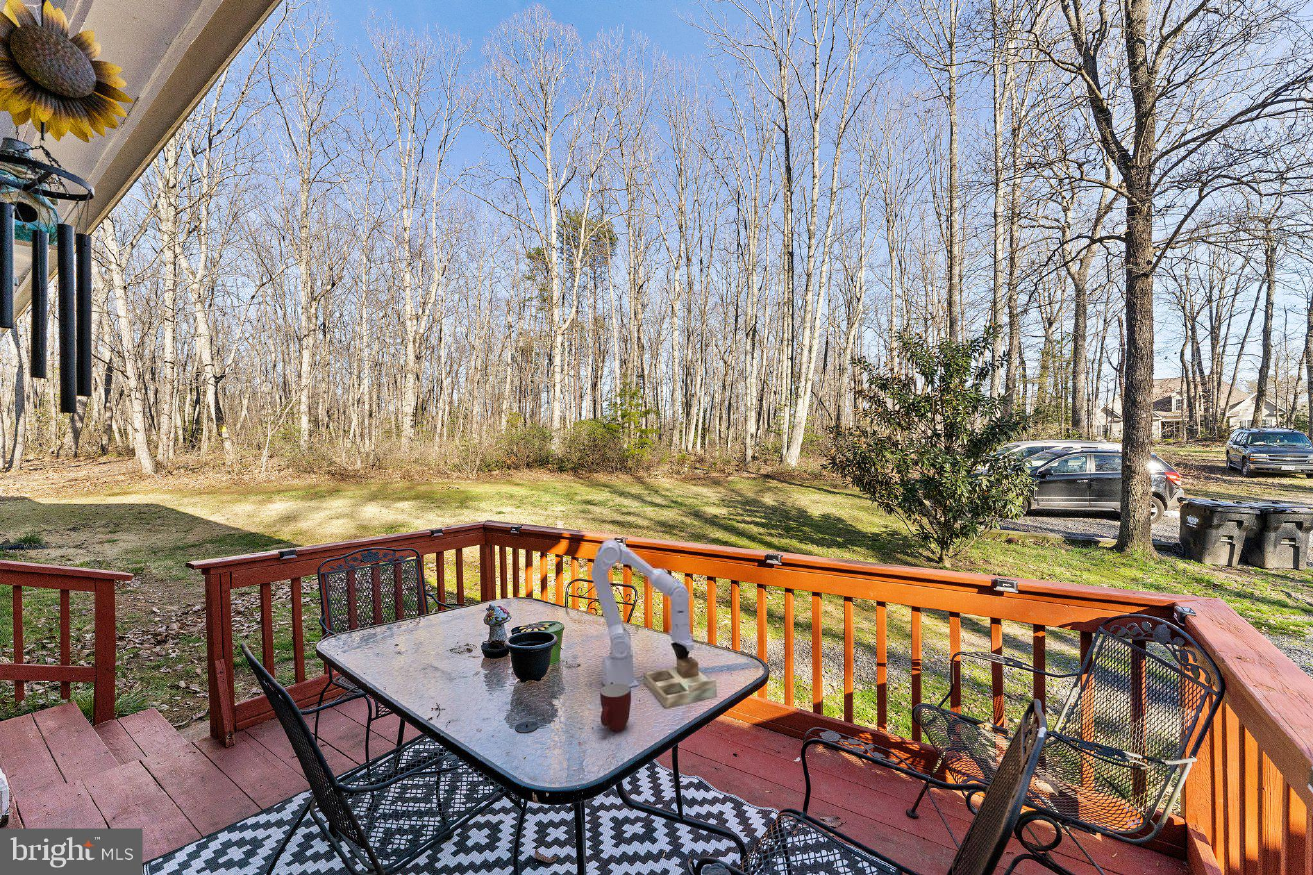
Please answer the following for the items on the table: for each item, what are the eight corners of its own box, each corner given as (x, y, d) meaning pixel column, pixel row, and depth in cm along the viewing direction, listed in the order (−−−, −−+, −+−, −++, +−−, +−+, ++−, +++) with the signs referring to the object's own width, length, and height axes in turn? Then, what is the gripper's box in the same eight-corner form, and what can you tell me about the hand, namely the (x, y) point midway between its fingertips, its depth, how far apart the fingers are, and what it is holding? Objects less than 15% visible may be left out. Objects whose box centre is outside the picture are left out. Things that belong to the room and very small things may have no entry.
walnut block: (683, 678, 170) (682, 665, 170) (677, 672, 174) (676, 659, 174) (698, 675, 171) (698, 662, 171) (691, 669, 176) (691, 656, 176)
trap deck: (665, 708, 158) (664, 690, 158) (644, 683, 175) (643, 667, 175) (716, 696, 164) (716, 679, 164) (691, 673, 180) (690, 657, 180)
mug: (620, 743, 141) (618, 703, 141) (592, 738, 144) (590, 699, 144) (637, 722, 151) (635, 685, 151) (610, 718, 154) (608, 681, 154)
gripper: (702, 627, 171) (704, 672, 171) (682, 614, 185) (684, 655, 185) (680, 631, 169) (682, 677, 169) (662, 617, 182) (664, 659, 182)
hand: (682, 666), depth 177 cm, fingers closed
